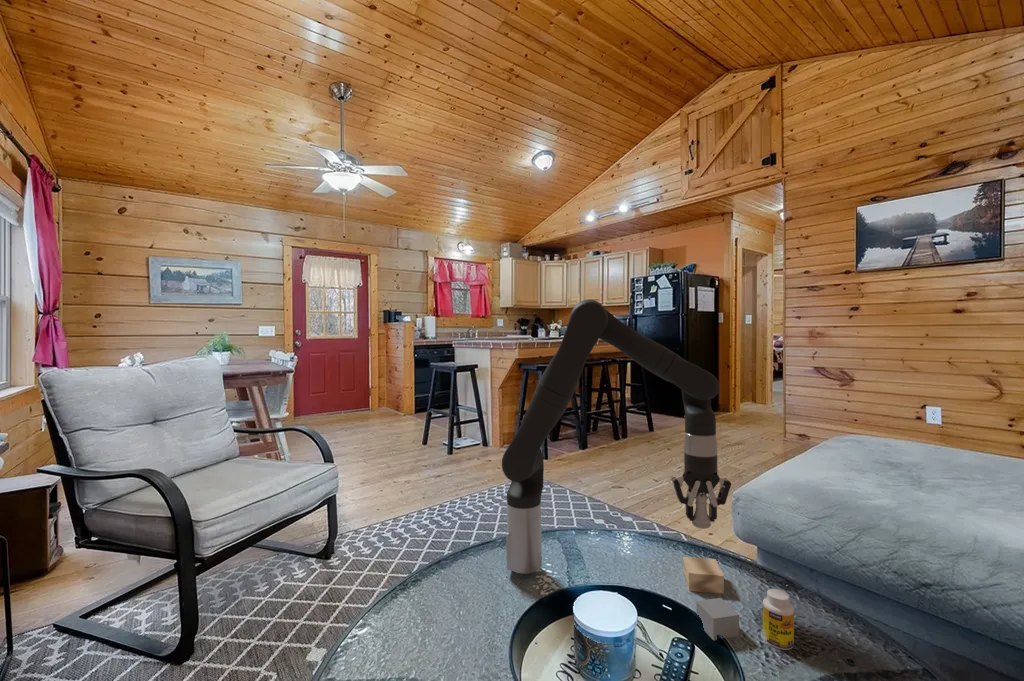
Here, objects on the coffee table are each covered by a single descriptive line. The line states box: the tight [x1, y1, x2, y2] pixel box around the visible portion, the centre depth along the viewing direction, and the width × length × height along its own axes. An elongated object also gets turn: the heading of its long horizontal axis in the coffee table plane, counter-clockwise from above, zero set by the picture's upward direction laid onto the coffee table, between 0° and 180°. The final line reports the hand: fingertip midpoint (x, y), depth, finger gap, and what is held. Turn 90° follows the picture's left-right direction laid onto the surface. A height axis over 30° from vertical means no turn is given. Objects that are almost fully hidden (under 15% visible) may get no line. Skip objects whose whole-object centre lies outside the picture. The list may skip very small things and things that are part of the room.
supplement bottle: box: [762, 588, 795, 651], centre depth 92 cm, size 6×6×10 cm
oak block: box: [682, 556, 725, 594], centre depth 113 cm, size 8×8×5 cm
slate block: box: [695, 597, 740, 641], centre depth 96 cm, size 6×6×5 cm
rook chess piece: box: [691, 493, 712, 530], centre depth 110 cm, size 4×4×8 cm
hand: (701, 519), depth 110 cm, fingers closed on rook chess piece, 4 cm apart
